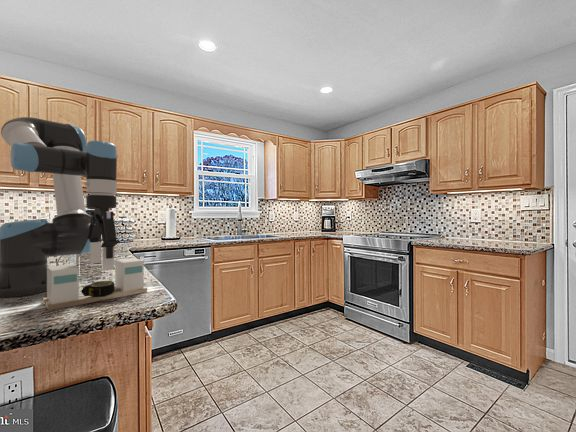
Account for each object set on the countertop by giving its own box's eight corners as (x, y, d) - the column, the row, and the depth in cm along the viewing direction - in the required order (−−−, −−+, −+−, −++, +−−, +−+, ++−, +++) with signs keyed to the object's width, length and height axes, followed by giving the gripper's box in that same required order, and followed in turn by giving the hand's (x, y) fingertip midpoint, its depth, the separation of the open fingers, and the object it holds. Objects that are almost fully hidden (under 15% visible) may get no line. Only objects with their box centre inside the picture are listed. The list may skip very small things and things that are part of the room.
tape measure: (100, 290, 90) (101, 278, 90) (119, 293, 89) (120, 281, 88) (80, 297, 83) (81, 285, 83) (101, 301, 82) (101, 288, 82)
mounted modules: (47, 298, 84) (46, 266, 83) (134, 283, 101) (134, 257, 101) (51, 304, 78) (51, 270, 78) (143, 288, 95) (143, 260, 95)
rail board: (43, 302, 84) (43, 296, 84) (135, 286, 102) (135, 282, 102) (48, 310, 77) (48, 304, 77) (147, 291, 95) (147, 287, 95)
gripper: (76, 194, 92) (76, 261, 93) (98, 193, 75) (98, 275, 75) (104, 196, 98) (103, 259, 98) (130, 194, 80) (129, 271, 81)
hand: (101, 266), depth 87 cm, fingers open, 13 cm apart
